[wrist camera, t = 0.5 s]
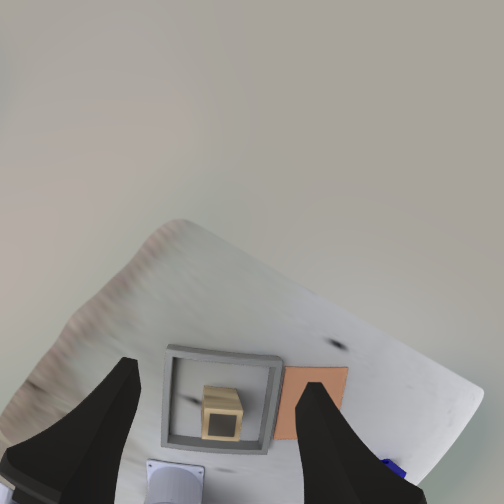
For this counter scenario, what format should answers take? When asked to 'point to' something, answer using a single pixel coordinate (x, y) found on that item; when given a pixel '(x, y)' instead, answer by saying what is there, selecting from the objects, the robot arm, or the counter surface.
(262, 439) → the parts tray
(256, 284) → the counter surface
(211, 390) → the part block
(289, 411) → the place mat
